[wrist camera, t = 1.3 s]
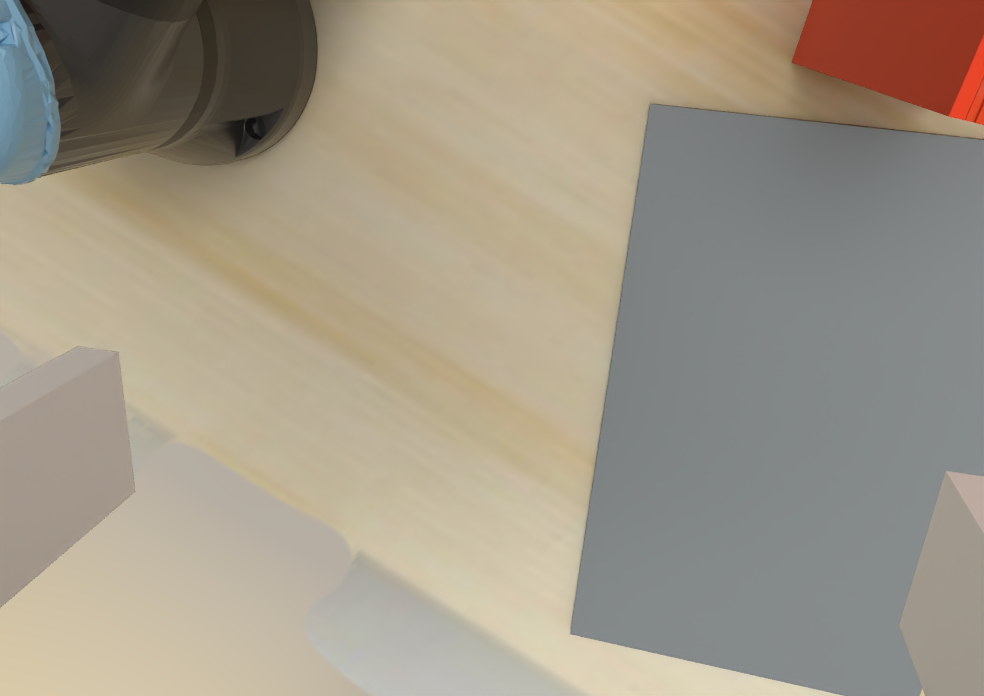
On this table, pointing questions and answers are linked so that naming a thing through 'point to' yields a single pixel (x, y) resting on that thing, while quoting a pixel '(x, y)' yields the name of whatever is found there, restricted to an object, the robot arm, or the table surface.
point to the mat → (786, 394)
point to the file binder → (902, 50)
